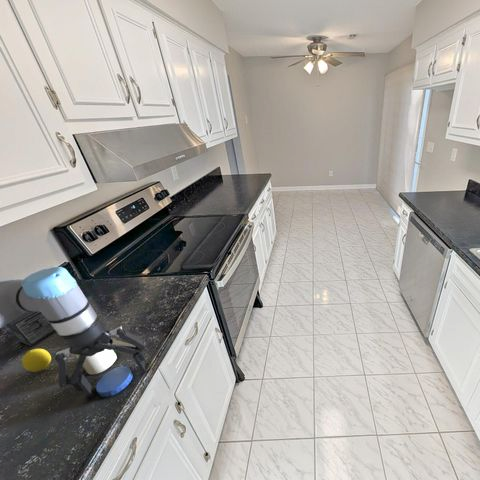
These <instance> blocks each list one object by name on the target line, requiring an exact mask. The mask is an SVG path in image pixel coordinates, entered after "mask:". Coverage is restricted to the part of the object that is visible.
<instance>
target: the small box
mask: <svg viewBox="0 0 480 480" xmlns="http://www.w3.org/2000/svg"><path fill="white" fill-rule="evenodd" d="M6 326H7V328H9V330H10V331H11V332H12V334H14V335H15V336H16V338H17V339H18V341H20V342H21V343H22V344H24V345H26V346H29V347H32V346H34V345H35V344H37V343H39V342H40V341H42V340H44V339H45V338H46V337H48V336H50V335H51V334H53V333H55V332H57V331H56V330H55V329H54V327H53V326H52V325H51V323H50V322H49V321H48V320H47V318H46V317H45V316H44V315H43V314H42V312H40V311H39V312H26V313H24V314H22V315H20V316H19V317H17V318H16V319H14V320H13V321H11V322H10V323H8V324H7V325H6Z"/></svg>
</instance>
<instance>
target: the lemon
mask: <svg viewBox="0 0 480 480" xmlns="http://www.w3.org/2000/svg"><path fill="white" fill-rule="evenodd" d="M21 358H22V359H21V364H22V366H23V368H24V369H25V370H27V371H29V372H35V373H36V372H40V371H43V370H45V369H46V368H47V367H48V366H50V363H51V361H52V356H51V353H49V351H48V350H46V349H44V348H34V349H29V350H28V351H27V352H26V353H25V354H23V356H22V357H21Z"/></svg>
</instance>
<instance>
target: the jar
mask: <svg viewBox="0 0 480 480" xmlns="http://www.w3.org/2000/svg"><path fill="white" fill-rule="evenodd" d="M73 356H74V357H75V359H76V360H78V358H79V355H77V354H73ZM117 359H118V357H117V353H116V352H115V350H107V349H105V350H104V351H102V352H99V353H96V354H95V355H93V356H91V357H90V356H86V358H85V361H84V363H83V366H82V369H83V370H84V371H85V372H86V374H88V375H90V376H91V375H98V374H101V373H102V372H104V371H106V370H108V369H109V368H110V367H111V366H113V364H114V363H116V360H117Z"/></svg>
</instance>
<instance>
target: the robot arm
mask: <svg viewBox="0 0 480 480" xmlns="http://www.w3.org/2000/svg"><path fill="white" fill-rule="evenodd" d="M39 311H40V312H42V314H43V315H44V316H45V317H46V318H47V320H48V321H49V322H50V323H51V325H52V326H53V327H54V329H55V330H56V331H55V332H56V333H57V335H58V336H60V338H61V340H62V341H63V342H64V343H65V344H66V346H67V347H68V348H65V349H63V348H59V349H57V351H56V353H55V356H54V360H55V361H56V362H57V364H58V383H59V384H58V385H59V388H65V387H66V386H68V385H71V386H72V387H73V388H74V389H75V390H76V391H77V392H81V391H83V393H85V394H86V396H87V397H88V399H92V398H94V396H95V387H94V386H93V385H92V384H91V383H90V382H89V380H88V379H87V378H86V377H85V375H84V374H80V373H81V371H82V369H83V367H82V366H83V363H84V361H85V358H86V356H90V357H91V356H93V355H95V354H96V353H99V352H102V351H104V350H105V349H107V350H114V351H117V352H122V353H125V354H131V355H132V358H133V360H134V362H135V363H136V365H137V366H138V367H139V369H140V371H141V373H145V372H146V364H145V362H144V361H145V359H146V358H145V354H144V351H145V350H146V349H147V341H145V340H144V339H142V338H140V337H139V336H137V335H135V334H134V333H132V332H130V331H128V330H127V329H125V327H124V326H123V324H118V325H117V326H116V328H113V329H112V330H111V329H110V330H109V329H107V328H106V326H105V325H104V323H103V322H102V320H101V319H100V317H99V316H98V315H97V313H96V312H95V310H94V308H93V306H92V305H91V303H89V301H88V299H87V297H86V295H85V294H84V293H83V291H82V290H81V288H80V286H79V284H78V283H77V281H76V279H75V278H74V277H73V276H72V275H71V273H70V272H69V270H67V269H66V268H65V267H61V266H52V267H49V268H43V269H41V270H38V271H35V272H33V273H31V274H29V275H27V276H25V278H24V279H19V278H18V279H17V278H15V279H6V280H1V281H0V329H2V328H4V327H5V326H7V324H8V323H10V322H11V321H13V320H14V319H16V318H17V317H19V316H20V315H22V314H24V313H26V312H39ZM112 336H115V337H117V338H120V339H121V340H119V339H116V338H114V337H112ZM122 340H123V341H122ZM70 354H73V355H74V354H77V355H79V358H78V360H77V359H76V360H77V361H76V364H75V366H74V368H73V372H72V373H71V376H69V369H68V368H69V367H68V366H69V365H68V358H69V357H70Z"/></svg>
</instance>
